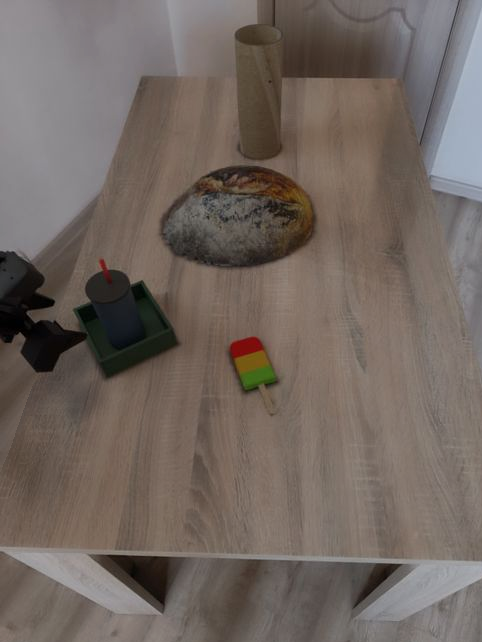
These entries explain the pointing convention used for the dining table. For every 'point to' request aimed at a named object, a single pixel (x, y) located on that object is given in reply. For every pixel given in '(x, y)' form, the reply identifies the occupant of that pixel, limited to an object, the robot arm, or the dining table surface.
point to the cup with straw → (115, 307)
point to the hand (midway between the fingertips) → (69, 319)
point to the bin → (154, 343)
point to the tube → (259, 89)
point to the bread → (239, 217)
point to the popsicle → (253, 366)
